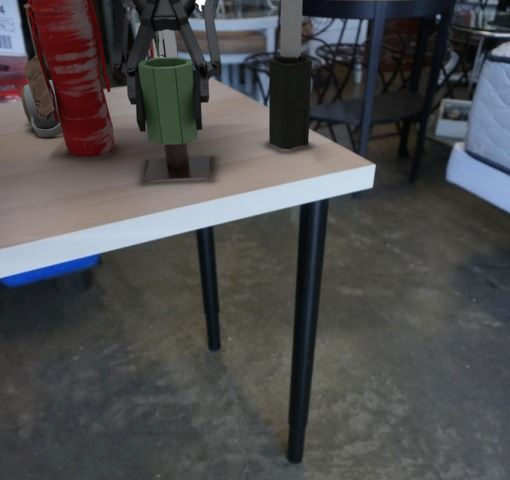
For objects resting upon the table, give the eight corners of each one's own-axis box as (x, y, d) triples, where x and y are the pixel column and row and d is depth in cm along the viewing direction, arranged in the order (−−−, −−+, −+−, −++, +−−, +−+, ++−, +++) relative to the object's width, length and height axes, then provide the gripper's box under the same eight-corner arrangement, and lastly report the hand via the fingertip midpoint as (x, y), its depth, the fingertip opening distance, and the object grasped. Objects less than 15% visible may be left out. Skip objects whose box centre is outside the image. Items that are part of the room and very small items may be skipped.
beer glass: (168, 125, 97) (157, 27, 87) (139, 120, 100) (125, 25, 90) (191, 115, 102) (182, 21, 92) (163, 111, 104) (151, 19, 94)
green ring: (146, 145, 71) (136, 68, 65) (151, 130, 76) (141, 57, 70) (197, 143, 72) (191, 67, 66) (198, 128, 77) (193, 56, 71)
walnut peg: (145, 190, 74) (130, 95, 66) (151, 167, 81) (138, 79, 73) (210, 188, 75) (202, 92, 67) (210, 165, 81) (203, 76, 73)
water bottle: (41, 171, 81) (-19, -39, 64) (49, 153, 87) (-4, -42, 70) (121, 165, 82) (83, -42, 65) (123, 148, 88) (89, -46, 71)
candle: (284, 159, 82) (288, -48, 66) (266, 151, 86) (265, -49, 69) (311, 153, 84) (320, -50, 68) (291, 144, 88) (296, -51, 71)
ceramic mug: (36, 121, 100) (23, 76, 95) (80, 119, 101) (70, 73, 96) (26, 140, 93) (11, 91, 87) (73, 137, 93) (62, 88, 88)
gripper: (236, -20, 75) (244, 137, 74) (95, -17, 74) (101, 142, 73) (236, -68, 68) (245, 106, 66) (80, -65, 67) (86, 111, 66)
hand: (170, 125), depth 70 cm, fingers closed on green ring, 7 cm apart
